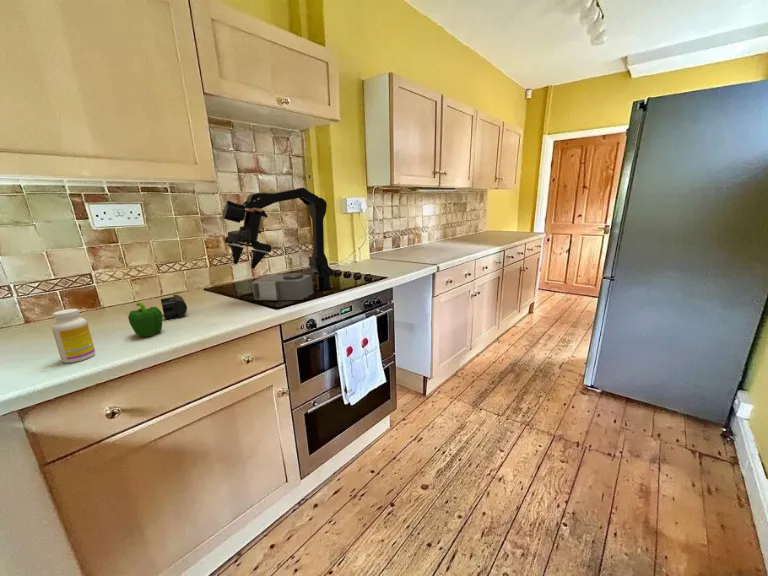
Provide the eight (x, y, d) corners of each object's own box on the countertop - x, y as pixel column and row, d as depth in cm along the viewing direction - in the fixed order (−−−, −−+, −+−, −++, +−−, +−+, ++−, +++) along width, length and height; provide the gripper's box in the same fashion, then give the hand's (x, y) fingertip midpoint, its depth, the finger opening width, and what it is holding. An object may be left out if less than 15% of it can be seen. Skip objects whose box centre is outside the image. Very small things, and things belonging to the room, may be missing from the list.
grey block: (272, 292, 147) (269, 272, 145) (313, 293, 143) (311, 272, 140) (256, 299, 136) (253, 278, 134) (300, 301, 131) (298, 278, 129)
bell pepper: (168, 333, 101) (162, 302, 99) (135, 341, 96) (128, 309, 93) (162, 327, 107) (156, 297, 105) (131, 334, 102) (123, 303, 99)
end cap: (189, 316, 117) (185, 298, 115) (165, 321, 113) (161, 302, 112) (185, 310, 125) (182, 293, 123) (163, 314, 121) (159, 296, 119)
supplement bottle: (102, 353, 89) (90, 307, 85) (74, 364, 82) (60, 316, 79) (84, 351, 90) (71, 306, 87) (55, 362, 84) (40, 314, 81)
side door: (257, 298, 135) (255, 281, 133) (279, 299, 133) (277, 281, 131) (253, 300, 132) (251, 282, 131) (275, 300, 130) (273, 283, 128)
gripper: (216, 218, 122) (208, 259, 123) (253, 224, 114) (244, 268, 115) (240, 224, 132) (233, 262, 133) (276, 231, 125) (268, 271, 125)
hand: (243, 266), depth 126 cm, fingers open, 9 cm apart
